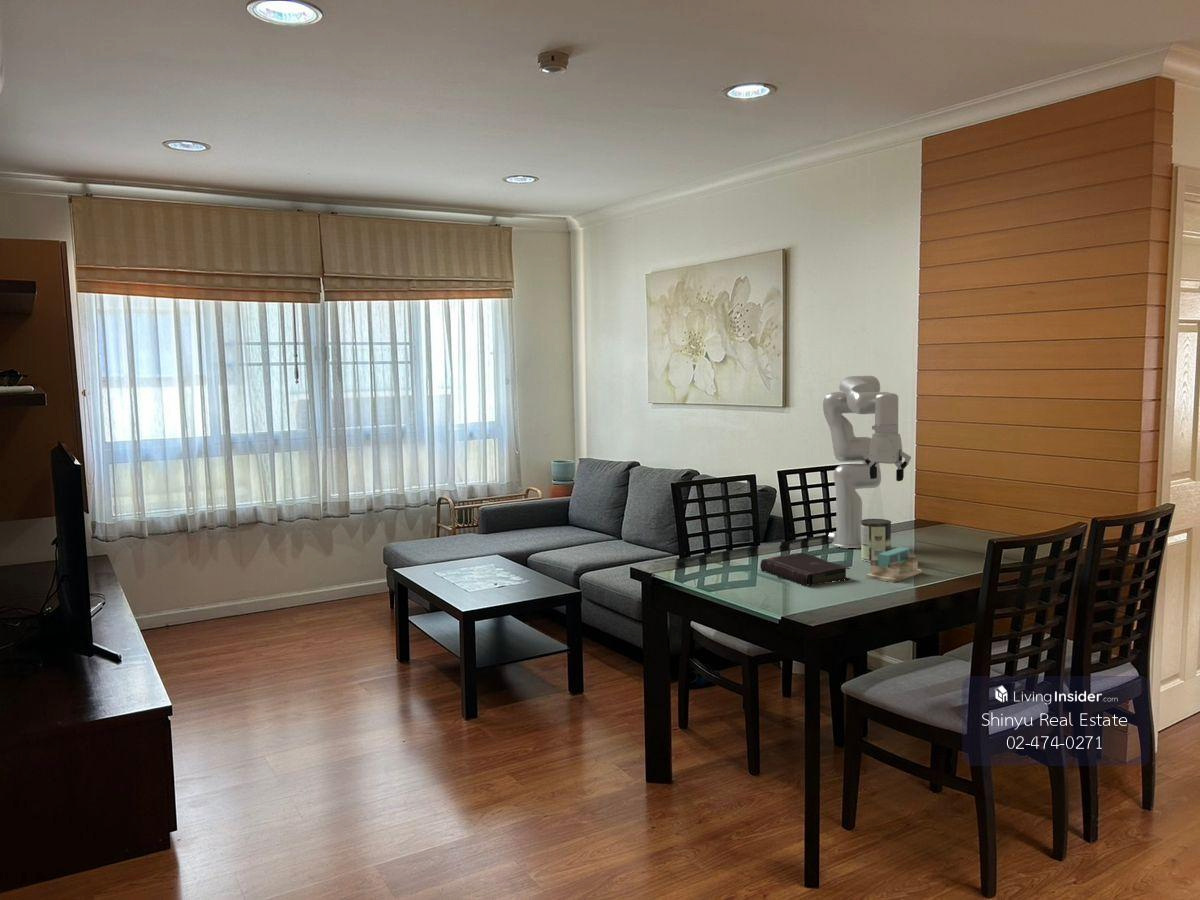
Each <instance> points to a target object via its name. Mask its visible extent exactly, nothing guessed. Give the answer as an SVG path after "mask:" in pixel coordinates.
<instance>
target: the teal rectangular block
mask: <svg viewBox="0 0 1200 900" xmlns="http://www.w3.org/2000/svg"><path fill="white" fill-rule="evenodd" d="M910 551H911V550H910V548H909V547H908V548H907V547H896V548H892V549H891V550H889V551H886V552H883V553H880V554H878V566H880V567H886V568H889V567H890V563H892V562H899V564H900V563H903V562H906V561H909V557H910Z"/></svg>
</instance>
